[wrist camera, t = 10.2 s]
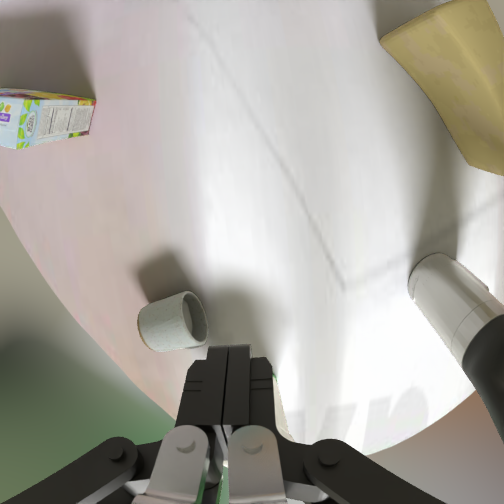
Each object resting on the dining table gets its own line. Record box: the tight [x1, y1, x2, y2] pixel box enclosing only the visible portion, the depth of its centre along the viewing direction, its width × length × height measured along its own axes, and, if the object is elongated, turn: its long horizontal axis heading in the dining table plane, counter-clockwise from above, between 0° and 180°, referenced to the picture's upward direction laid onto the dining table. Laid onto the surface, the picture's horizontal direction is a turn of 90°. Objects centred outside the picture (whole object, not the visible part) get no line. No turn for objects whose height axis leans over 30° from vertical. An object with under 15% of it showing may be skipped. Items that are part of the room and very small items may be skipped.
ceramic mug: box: [137, 291, 208, 352], centre depth 42 cm, size 11×8×8 cm
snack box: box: [0, 88, 96, 150], centre depth 25 cm, size 21×6×15 cm, turn 71°
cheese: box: [380, 0, 504, 176], centre depth 25 cm, size 22×10×15 cm, turn 36°
